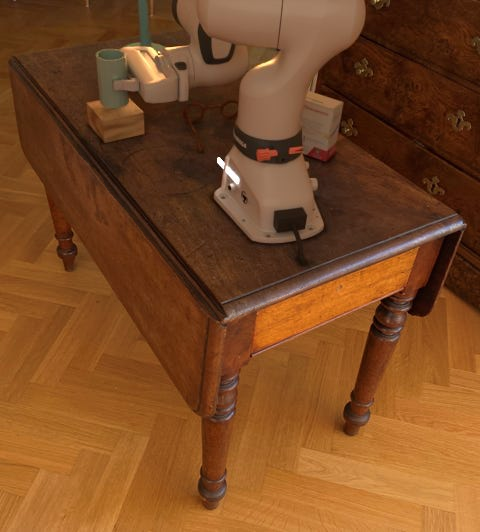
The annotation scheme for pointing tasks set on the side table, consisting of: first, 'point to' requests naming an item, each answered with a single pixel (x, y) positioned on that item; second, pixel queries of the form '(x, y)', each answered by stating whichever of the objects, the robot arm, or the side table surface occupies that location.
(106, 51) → the tumbler
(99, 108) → the block
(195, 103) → the glasses
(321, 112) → the ink box
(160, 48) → the mug tree
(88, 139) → the side table surface
